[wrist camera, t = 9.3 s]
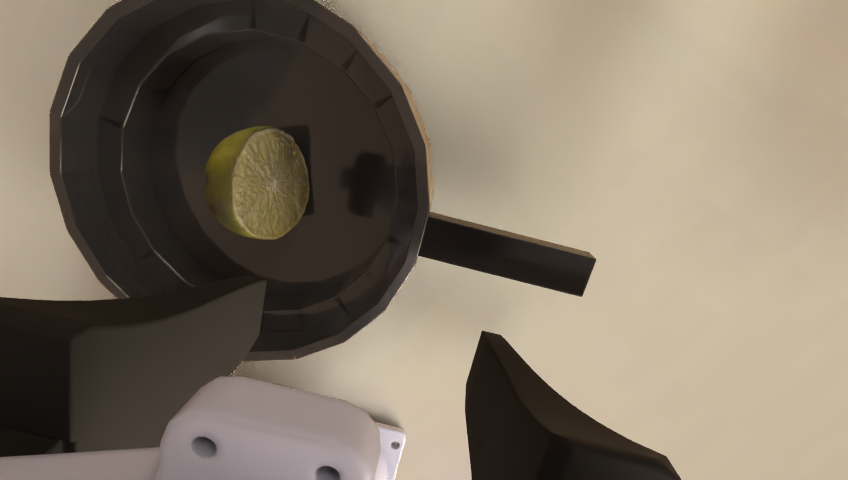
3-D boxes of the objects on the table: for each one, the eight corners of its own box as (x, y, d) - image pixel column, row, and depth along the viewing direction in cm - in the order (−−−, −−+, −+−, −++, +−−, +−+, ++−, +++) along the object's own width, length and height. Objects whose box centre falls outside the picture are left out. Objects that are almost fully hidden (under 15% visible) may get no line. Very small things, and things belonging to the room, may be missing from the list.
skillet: (394, 347, 25) (382, 396, 20) (120, 278, 24) (49, 313, 20) (469, 52, 20) (474, 34, 16) (135, -34, 20) (48, -77, 16)
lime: (284, 111, 21) (234, 109, 16) (343, 193, 22) (313, 215, 17) (216, 162, 22) (150, 175, 17) (276, 240, 23) (229, 273, 18)
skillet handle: (576, 288, 20) (582, 297, 19) (408, 246, 19) (406, 253, 18) (589, 252, 19) (597, 259, 18) (418, 208, 19) (416, 213, 18)
